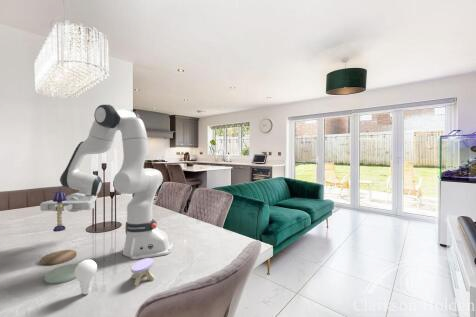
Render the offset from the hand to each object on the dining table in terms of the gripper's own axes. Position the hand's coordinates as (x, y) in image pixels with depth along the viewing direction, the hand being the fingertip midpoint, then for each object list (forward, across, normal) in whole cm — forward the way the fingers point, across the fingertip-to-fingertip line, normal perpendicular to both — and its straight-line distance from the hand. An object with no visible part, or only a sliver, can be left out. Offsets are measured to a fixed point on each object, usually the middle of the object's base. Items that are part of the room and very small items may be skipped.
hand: (58, 209), depth 95 cm
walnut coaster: (-1, 0, +22) cm, 22 cm away
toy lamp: (-1, 0, +9) cm, 9 cm away
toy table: (+22, +39, +22) cm, 50 cm away
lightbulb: (+28, +23, +22) cm, 43 cm away
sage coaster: (+14, +10, +22) cm, 28 cm away
